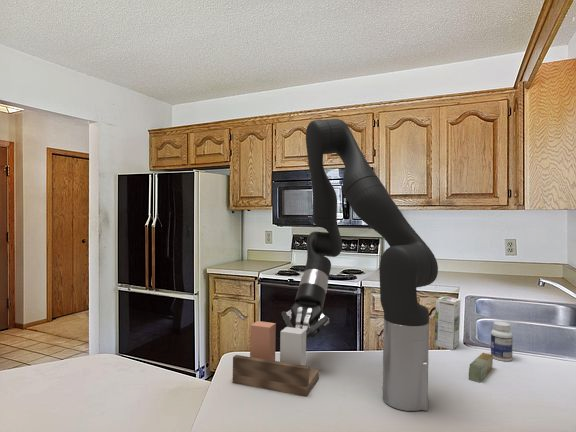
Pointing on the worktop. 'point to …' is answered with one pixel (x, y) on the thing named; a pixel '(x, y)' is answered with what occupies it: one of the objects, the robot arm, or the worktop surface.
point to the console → (274, 375)
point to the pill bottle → (501, 342)
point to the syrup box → (447, 322)
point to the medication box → (480, 367)
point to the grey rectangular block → (293, 346)
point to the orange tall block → (263, 340)
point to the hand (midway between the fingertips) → (297, 350)
